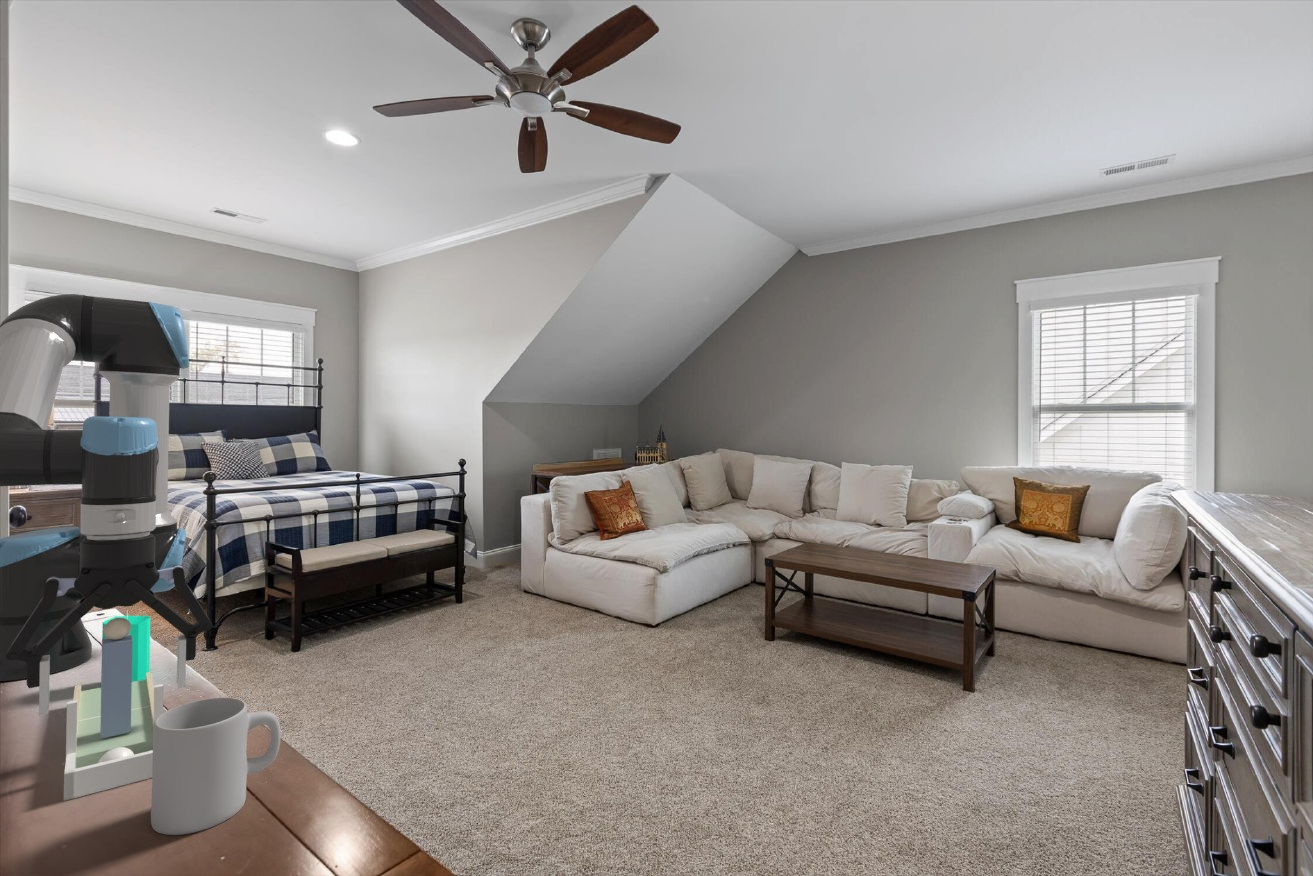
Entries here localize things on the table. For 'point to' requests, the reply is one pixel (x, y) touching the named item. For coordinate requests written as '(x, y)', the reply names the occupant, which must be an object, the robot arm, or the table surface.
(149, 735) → the pitch
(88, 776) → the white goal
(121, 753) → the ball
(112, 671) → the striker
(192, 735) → the mug
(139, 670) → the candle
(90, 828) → the table surface
